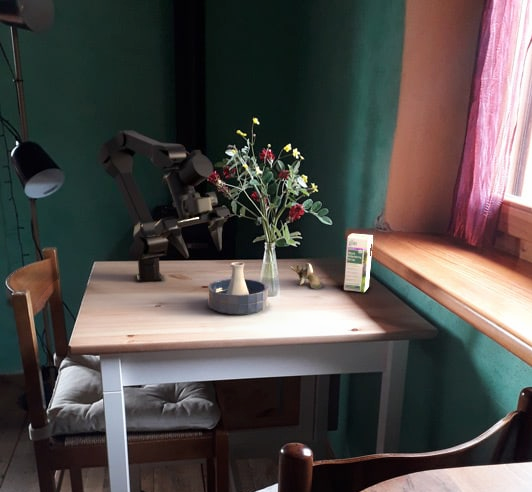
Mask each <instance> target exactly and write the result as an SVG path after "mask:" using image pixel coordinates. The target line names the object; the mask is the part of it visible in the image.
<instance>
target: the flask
mask: <svg viewBox="0 0 532 492" xmlns="http://www.w3.org/2000/svg"><path fill="white" fill-rule="evenodd" d="M230 267H231V276H230V277H231V278H230V279H231V281H230V284H229V287H228V290H227V293H226V294H229V295H248V294H249V292H248V290H247V287H246V283H245V280H244V279H245V277H244V267H245V263H244V262H241V261H237V262H236V261H235V262H234V261H233V262H231V263H230Z"/></svg>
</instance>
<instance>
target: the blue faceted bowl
mask: <svg viewBox="0 0 532 492" xmlns="http://www.w3.org/2000/svg"><path fill="white" fill-rule="evenodd" d="M244 280H245V283H246V287H247V290H248V292H249V294H248V295H229V294H226V293H227V290H228V287H229V284H230V281H231V278H226V279H220V280H216V281H213V282H211V283H209V284H208V285H207V305H208V307H209V308H210V309H212V310H214V311H216V312H218V313H220V314H226V315H233V316H234V315H235V316H236V315H238V316H239V315H240V316H241V315H251V314H256V313H258V312H261V311H263V310H265V309H266V308H267V306H268V301H269V300H268V298H269V297H268V296H269V295H268V294H269V286H268V284H266V283H264V282H263V281H260V280H255V279H249V278H244Z"/></svg>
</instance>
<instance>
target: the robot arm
mask: <svg viewBox="0 0 532 492" xmlns="http://www.w3.org/2000/svg"><path fill="white" fill-rule="evenodd" d="M136 153H138V154H140V155H142V156H144V157H146V158H149V159H150V160H151V163H152V165H154V166H155V167H157V168H158V169H160V170H172V171H170V172H169V171H168V172H164V175H163V177H162V179H161V184H162V185H165V184H166V185H168V188H169V191H170V194H171V197H172V200H173V202H172V203H171V204H172V207H173V208H176V212H177V215H178V218H177V217H176V216H175V215H172V216H167V217H162V218H161V219H160V220H154V219H153V217H152V216H151V214H150V211H149V209H148V207H147V205H146V202H145V200H144V198H143V196H142V193H141V191H140V189H139V186H138V184H137V182H136V180H135V177H134V175H133V172H132V169H133V164H134V161H133V158H134V156H135V155H136ZM97 160H98V162H99V164H100V165H101V167H102V169H103V171H104V172H105V173H106V174H107V175H109V176H110V177H111V178H112V179H113V180H114V182H115V184H116V186H117V188H118V190H119V193H120V195H121V197H122V201H123V202H124V204H125V207H126V209H127V211H128V213H129V216H130V218H131V220H132V224H133V225H134V229H133V235H132V237H133V241H134V242H133V243H132V244H131V246H130V248H129V250H128V252H129V255H130V258H131V259H135V260H137V268H138V270H137V271H138V273H137V274H136V278H137V282H138V283H139V282H140V283H141V282H161V281H163V277H162V273H161V272H160V257H166V256H167V252H168V246H169V243H170V244H172V245H173V246H174V247H175V248H176V249H177V250H178V251H179V252H180V254H181V255H182V256H183V257H184V258H185V259H188V258H189V257H190V255H189V251H188V248H187V246H186V243H185V241H184V238H183V235H182V228H183V227H184V228H185V227H188V226H193V225H197V224H202V223H207V224H209V226H208V227H207V228H208V230H209V233H210V235H211V238H212V241H213V242H214V245H215V247H216V249H217V251H218V252H220V251H222V244H223V243H222V242H223V241H222V237H223V236H222V232H223V227H224V223H226V222H227V221H228V219H229V218H230V217H231V216H232V215H231V211H230V209H229V208H228V207H226V205H225V206H219V207H213V206H217V205H218V203H219V202H218V197H217V195H216V192H215V191H208V192H205V193H204V196H201V195H200V193H199V192H198V191H196V190H195V187H196V186H198V185H200V183H202V182H203V181H205V180H206V179H208V178H209V177H211V175H213V173H214V166H213V163H212V161H210V159H209V158H208V157H207V156H206V155H204V154H202V151H201V150H200V149H195V150H192V151H191V152H188V151H187V150H186V148H185V146H184V145H183V144H180V143H169V142H160V141H158V140H155V139H153V138H150V137H148V136H145V135H143V134H141V133H139V132H138V131H135V130H120V131H118V132H116V134H115V135H114V136H113V137H112V138H110V139H108V140H107V141H105V142H104V143H103V144H102V145H101V146H100V148H99V150H98V151H97ZM227 213H228V214H229V216H227V215H228V214H227Z"/></svg>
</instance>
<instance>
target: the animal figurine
mask: <svg viewBox="0 0 532 492" xmlns="http://www.w3.org/2000/svg"><path fill="white" fill-rule="evenodd" d="M289 267H290V270H291V271H293V272H295V273H296V274H297V275H298V278H299V279H300V282H299V286H301V285H303V284H304V283H305V281H306V280H308V281H309V283H310V288H311V289H315V290H319V289H321V288H322V287H323V282H322V280H321V279H320V278H319V277H318V276H316V275H315V274H314V270H313V266H312V264H311V263H309V262H306V265H305V267H304V266H301V269H300V265H296V267H295V268H294V267H293V266H292V265H289ZM304 268H305V269H304Z"/></svg>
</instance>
